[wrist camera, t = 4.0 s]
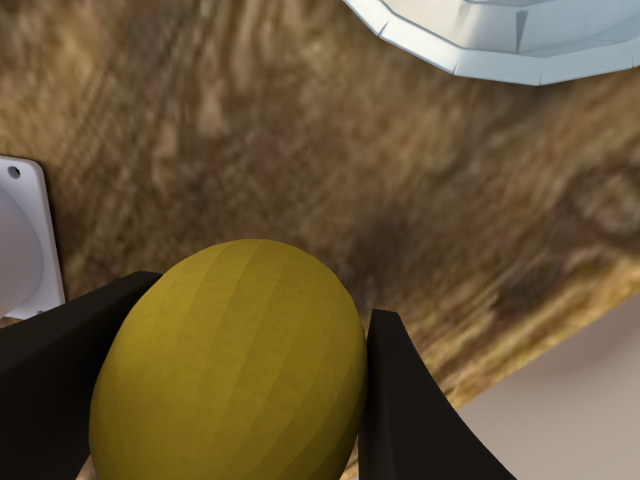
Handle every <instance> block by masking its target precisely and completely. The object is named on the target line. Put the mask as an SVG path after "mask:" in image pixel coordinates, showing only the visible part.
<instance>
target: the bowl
mask: <svg viewBox="0 0 640 480" xmlns="http://www.w3.org/2000/svg"><path fill="white" fill-rule="evenodd" d="M343 1H344V2H345V4H346V5H347V6H348V7H349V8H350V9H351V10H352V11H353V12H354V13H355V14H356V15H357V16H358V17H359V18H360V19H361V20H362V21H363V22H364V23H365V24H366V25H367V27H368V28H369V29H370V30H371V31H372V32H373V33H374V34H375V35H377V36H379V37H380V38H381V39H382V40H384V41H386V42H388V43H390V44H392V45H394V46H396V47H398V48H400V49H402V50H404V51H406V52H408V53H410V54H412V55H414V56H416V57H418V58H419V59H421V60H423V61H425V62H427V63H429V64H431V65H433V66H435V67H437V68H439V69H441V70H443V71H445V72H447V73H449V74H453V75H455V76H461V77H469V78H477V79H485V80H493V81H501V82H509V83H517V84H525V85H532V86H538V85H547V84H553V83H558V82H563V81H569V80H574V79H579V78H585V77H590V76H595V75H601V74H606V73H611V72H617V71H622V70H627V69H630V68H632V67H637V66H639V65H640V0H343Z"/></svg>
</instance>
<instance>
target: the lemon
mask: <svg viewBox="0 0 640 480" xmlns="http://www.w3.org/2000/svg"><path fill="white" fill-rule="evenodd" d="M367 392H368V358H367V345H366V337H365V333H364V328H363V326H362V323H361V320H360V318H359V315H358V312H357V309H356V307H355V304H354V302H353V299H352V297H351V296H350V295H349V293H348V292H347V290H346V289H345V288H344V286H343V285H342V283H341V282H340V281H339V279H338V278H337V276H336V275H335V274H334V273H333V272H332V271H331V270H330V269H329V268H327V267H326V266H325V265H324V264H323V263H322V262H320V261H319V260H318V259H317V258H316V257H314V256H312V255H310V254H308V253H306V252H304V251H302V250H300V249H298V248H296V247H294V246H292V245H288V244H284V243H281V242H277V241H273V240H269V239H239V240H234V241H230V242H225V243H221V244H216V245H212V246H210V247H208V248H205V249H203V250H202V251H200V252H198V253H196V254H194V255H192V256H190V257H188V258H186V259H184V260H183V261H181V262H179V263H178V264H176V265H175V266H173V267H172V268H171V269H170V270H168V271H167V272H166V273H165V274H164V275H163V276H162V277H161V278H160V279H159V280H158V281H157V282H156V283H155V284H154V285H153V286H152V287H151V288H150V289H149V290H148V291H147V292H146V293H145V294H144V295H143V296H142V297H141V298H140V299H139V301H138V302H137V303H136V304H135V306H134V307H133V308H132V309H131V311H130V312H129V314H128V316H127V317H126V319H125V320H124V322H123V324H122V326H121V327H120V329H119V331H118V333H117V335H116V337H115V339H114V341H113V344H112V346H111V348H110V350H109V352H108V354H107V356H106V358H105V361H104V363H103V365H102V367H101V370H100V372H99V375H98V378H97V381H96V384H95V386H94V391H93V396H92V400H91V407H90V420H89V447H90V452H91V457H92V462H93V465H94V469H95V473H96V476H97V479H98V480H339V479H340V478H341V476H342V474H343V472H344V469H345V467H346V465H347V463H348V461H349V458H350V455H351V453H352V450H353V447H354V444H355V441H356V437H357V434H358V430H359V427H360V423H361V420H362V416H363V413H364V409H365V404H366V399H367Z"/></svg>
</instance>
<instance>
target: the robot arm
mask: <svg viewBox="0 0 640 480" xmlns="http://www.w3.org/2000/svg"><path fill="white" fill-rule="evenodd" d="M15 167H16V168H17V169H18V170H19V171H20V175H19V174H18V173H17V172H16V169H15ZM162 276H163V274H159V273H153V272H146V271H138V272H135V273H132V274H130V275H127V276H125V277H123V278H120V279H118V280H116V281H114V282H111V283H109V284H107V285H105V286H102V287H100V288H98V289H96V290H94V291H91V292H89V293H87V294H85V295H83V296H80V297H78V298H76V299H74V300H71V301H69V302H67V303H65V297H64V291H63V285H62V279H61V273H60V267H59V262H58V256H57V250H56V244H55V238H54V232H53V226H52V221H51V215H50V209H49V203H48V197H47V191H46V185H45V180H44V174H43V171H42V168H41V167H40V166H39V165H38V164H37V163H36V162H34V161H32V160H27V159H21V158H14V157H7V156H1V155H0V318H2V317H3V316H7V317H13V318H18V319H24V320H23V321H20V322H18V323H15V324H12V325H9V326H7V327H4V328H1V329H0V480H75V479H76V478H77V476H78V474H79V472H80V471H81V469H82V467H83V465H84V464H85V462H86V460H87V459H88V457H89V455H90V454H91V452H90V447H89V420H90V407H91V400H92V396H93V391H94V386H95V384H96V381H97V378H98V375H99V372H100V370H101V367H102V365H103V363H104V361H105V358H106V356H107V354H108V352H109V350H110V348H111V346H112V344H113V341H114V339H115V337H116V335H117V333H118V331H119V329H120V327H121V326H122V324H123V322H124V320H125V319H126V317H127V316H128V314H129V312H130V311H131V309H132V308H133V307H134V306H135V304H136V303H137V302H138V301H139V299H140V298H141V297H142V296H143V295H144V294H145V293H146V292H147V291H148V290H149V289H150V288H151V287H152V286H153V285H154V284H155V283H156V282H157V281H158V280H159V279H160V278H161V277H162ZM366 345H367V358H368V392H367V399H366V404H365V409H364V413H363V416H362V420H361V423H360V427H359V430H358V466H359V480H517V479H516V478H515V477H514V476H513V475H512V474H511V473H510V472H509V471H508V470H506V468H505V467H504V466H503V465H502V464H501V463H500V462H499V461H498V460H497V459H496V458H495V456H494V455H493V454H492V453H491V452H490V451H489V450H488V449H487V448H486V447H485V446H484V445H483V444H482V443H481V442H480V440H479V439H478V438H477V437H476V436H475V435H474V434H473V432H472V431H471V430H470V429H469V428H468V426H467V425H466V424H465V423H464V422H463V420H462V419H461V418H460V417H459V415H458V414H457V412H456V411H455V410H454V408H453V407H452V406H451V404H450V403H449V402H448V400H447V399H446V397H445V396H444V394H443V393H442V391H441V390H440V388H439V387H438V386H437V384H436V382H435V381H434V379H433V378H432V376H431V375H430V373H429V371H428V370H427V368H426V366H425V364H424V363H423V361H422V359H421V358H420V356H419V354H418V352H417V351H416V349H415V347H414V345H413V343H412V341H411V339H410V337H409V335H408V333H407V331H406V329H405V327H404V325H403V322H402V320H401V318H400V316H399V315H398V313H397V312H392V311H386V310H379V309H373V310H372V315H371V320H370V325H369V331H368V336H367V341H366Z"/></svg>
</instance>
